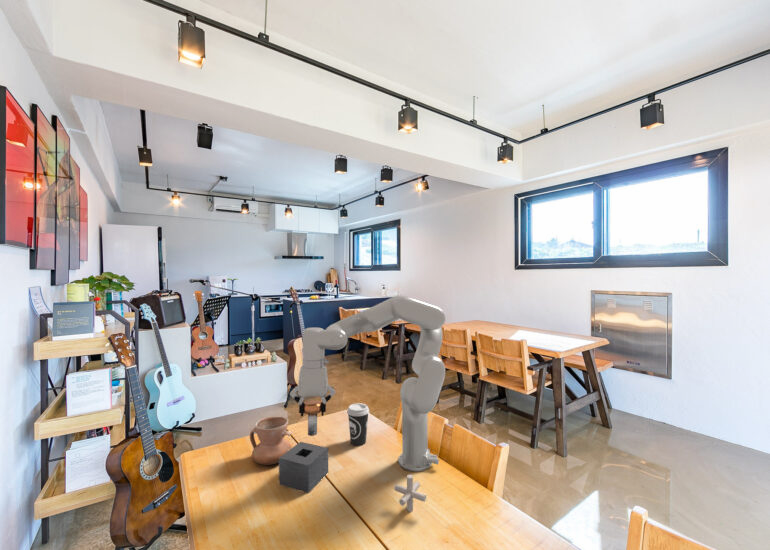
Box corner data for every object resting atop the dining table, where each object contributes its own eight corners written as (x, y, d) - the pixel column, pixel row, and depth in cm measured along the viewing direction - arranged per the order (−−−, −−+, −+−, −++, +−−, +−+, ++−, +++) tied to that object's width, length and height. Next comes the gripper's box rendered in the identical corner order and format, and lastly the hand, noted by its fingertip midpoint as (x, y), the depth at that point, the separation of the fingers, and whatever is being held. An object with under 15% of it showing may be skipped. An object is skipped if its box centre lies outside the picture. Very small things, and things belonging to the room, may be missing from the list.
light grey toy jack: (417, 526, 93) (417, 491, 94) (387, 513, 99) (387, 479, 99) (431, 505, 102) (431, 473, 102) (403, 494, 107) (403, 463, 107)
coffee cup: (368, 447, 137) (368, 411, 137) (345, 447, 137) (345, 411, 137) (370, 436, 146) (370, 402, 146) (348, 436, 146) (348, 402, 146)
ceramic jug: (301, 452, 133) (300, 416, 134) (280, 472, 119) (280, 432, 120) (262, 446, 138) (262, 412, 139) (238, 465, 124) (238, 427, 125)
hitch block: (328, 472, 119) (328, 447, 119) (308, 493, 108) (308, 465, 108) (300, 465, 124) (300, 441, 124) (279, 484, 113) (278, 458, 113)
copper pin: (325, 431, 118) (325, 401, 118) (314, 439, 112) (315, 408, 112) (309, 428, 120) (310, 399, 120) (299, 435, 114) (299, 405, 115)
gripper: (338, 360, 121) (337, 409, 121) (289, 361, 119) (288, 411, 119) (338, 365, 114) (337, 418, 114) (286, 366, 112) (285, 420, 111)
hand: (312, 414), depth 116 cm, fingers closed on copper pin, 6 cm apart
